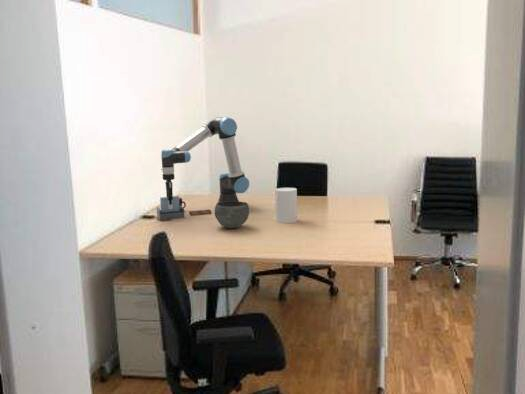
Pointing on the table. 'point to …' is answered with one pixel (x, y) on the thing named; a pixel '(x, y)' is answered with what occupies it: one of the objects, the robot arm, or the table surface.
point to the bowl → (231, 213)
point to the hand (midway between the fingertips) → (170, 208)
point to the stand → (200, 212)
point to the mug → (181, 202)
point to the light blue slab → (165, 204)
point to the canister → (286, 205)
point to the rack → (170, 214)
